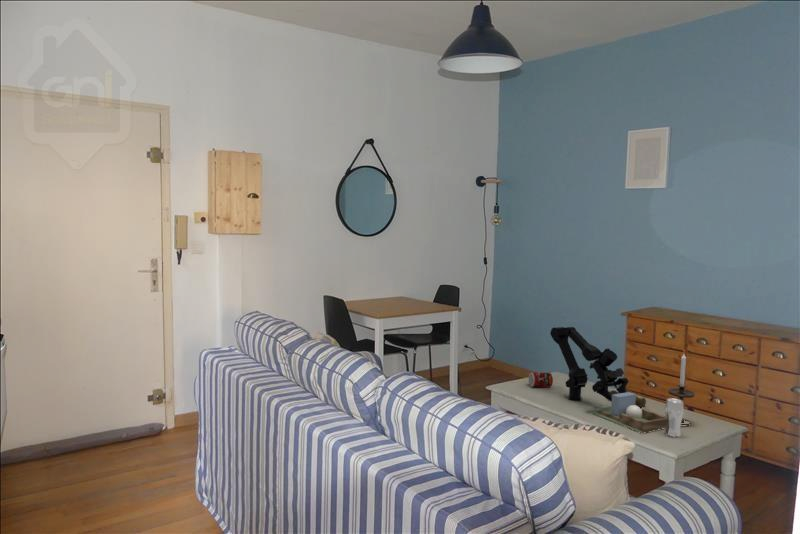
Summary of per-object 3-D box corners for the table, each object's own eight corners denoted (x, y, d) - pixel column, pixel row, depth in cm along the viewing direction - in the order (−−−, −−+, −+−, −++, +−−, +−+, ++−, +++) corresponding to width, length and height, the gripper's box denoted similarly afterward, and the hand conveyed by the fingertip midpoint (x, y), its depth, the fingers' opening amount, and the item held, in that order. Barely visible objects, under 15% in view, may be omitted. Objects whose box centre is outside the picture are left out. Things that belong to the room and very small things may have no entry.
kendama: (637, 410, 286) (602, 398, 302) (648, 407, 292) (613, 396, 308) (638, 398, 285) (603, 387, 301) (649, 396, 291) (614, 385, 307)
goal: (587, 411, 280) (587, 402, 279) (615, 406, 289) (616, 397, 288) (641, 433, 252) (642, 423, 252) (671, 427, 261) (672, 417, 260)
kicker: (610, 415, 272) (611, 394, 271) (627, 412, 277) (628, 392, 276) (617, 418, 269) (618, 397, 268) (634, 415, 274) (635, 394, 273)
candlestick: (661, 421, 268) (666, 346, 265) (673, 417, 275) (678, 343, 272) (685, 428, 260) (690, 350, 257) (697, 424, 266) (702, 347, 263)
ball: (623, 406, 272) (632, 399, 268) (636, 415, 272) (646, 407, 267) (621, 418, 267) (630, 410, 262) (635, 426, 267) (644, 419, 262)
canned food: (553, 386, 317) (533, 386, 315) (548, 387, 324) (529, 387, 323) (552, 371, 319) (532, 371, 317) (547, 373, 326) (527, 373, 325)
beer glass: (660, 432, 255) (662, 398, 254) (676, 432, 255) (678, 398, 254) (669, 437, 248) (671, 403, 247) (685, 437, 248) (687, 403, 247)
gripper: (597, 364, 274) (615, 393, 265) (626, 360, 282) (644, 389, 273) (584, 376, 281) (601, 406, 272) (613, 373, 290) (629, 401, 281)
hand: (619, 400), depth 274 cm, fingers open, 9 cm apart
